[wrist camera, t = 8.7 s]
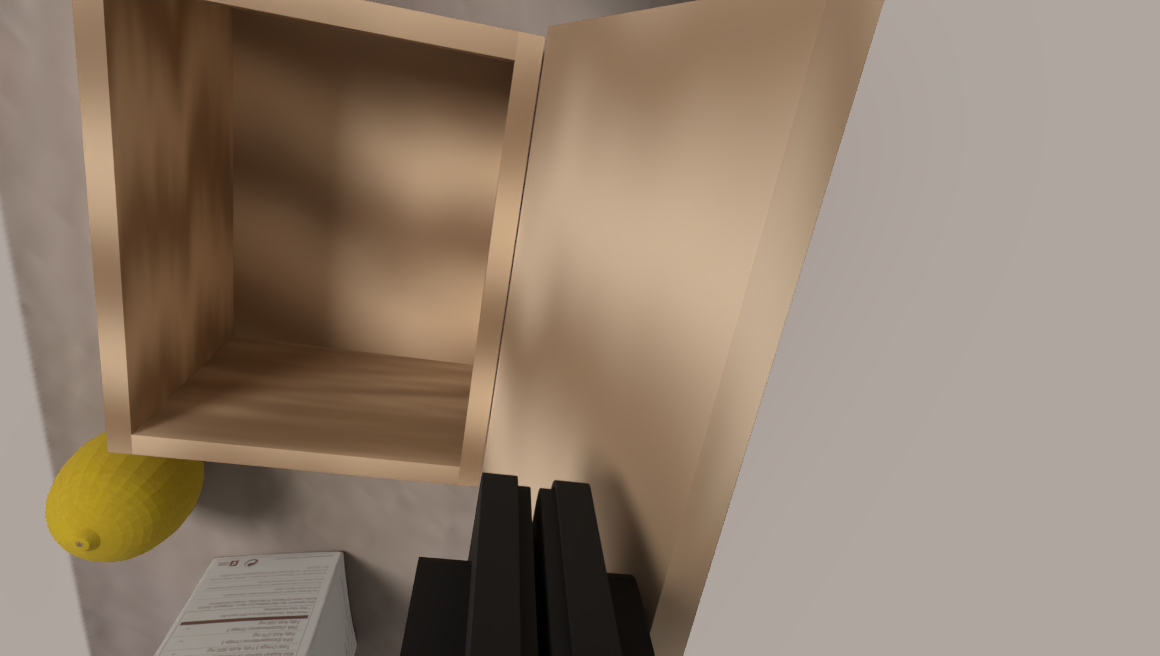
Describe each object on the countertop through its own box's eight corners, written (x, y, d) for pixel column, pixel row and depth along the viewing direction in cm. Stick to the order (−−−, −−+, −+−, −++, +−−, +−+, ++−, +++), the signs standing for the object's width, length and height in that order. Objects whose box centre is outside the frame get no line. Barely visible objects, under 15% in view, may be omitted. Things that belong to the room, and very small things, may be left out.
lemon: (249, 433, 34) (177, 533, 27) (194, 504, 36) (112, 619, 28) (148, 374, 33) (41, 463, 25) (94, 451, 34) (-23, 558, 27)
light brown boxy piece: (219, -17, 27) (67, -59, 18) (534, 46, 29) (545, 37, 20) (222, 342, 33) (107, 451, 23) (487, 374, 35) (478, 486, 25)
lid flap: (833, -25, 6) (895, -8, 6) (548, 26, 20) (571, 31, 20) (548, 996, 12) (585, 989, 12) (479, 493, 25) (496, 493, 26)
